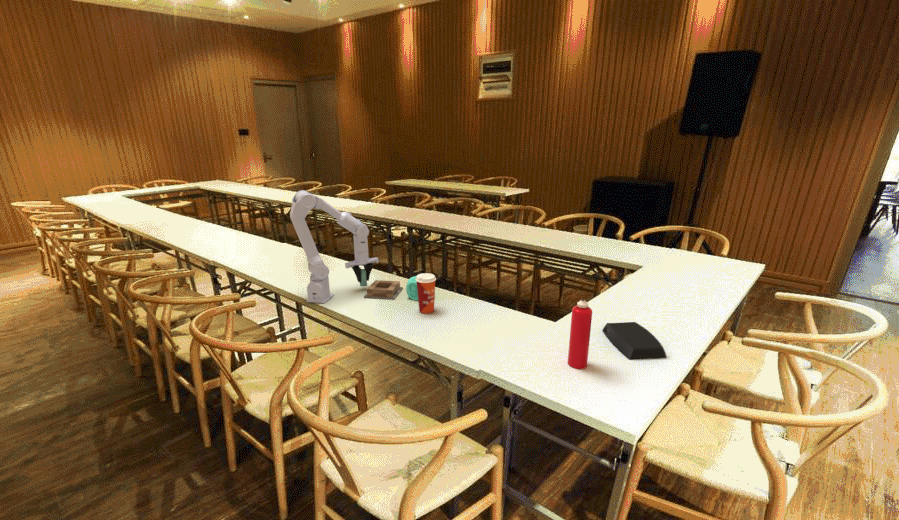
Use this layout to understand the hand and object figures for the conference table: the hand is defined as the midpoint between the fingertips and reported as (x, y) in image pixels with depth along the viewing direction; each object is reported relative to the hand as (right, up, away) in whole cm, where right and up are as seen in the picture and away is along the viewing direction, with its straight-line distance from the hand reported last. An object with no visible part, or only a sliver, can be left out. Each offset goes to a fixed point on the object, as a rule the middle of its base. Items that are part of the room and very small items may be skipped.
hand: (363, 281), depth 181 cm
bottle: (+75, -21, -59) cm, 97 cm away
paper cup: (+29, -10, -21) cm, 37 cm away
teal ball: (+25, -6, -8) cm, 27 cm away
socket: (+9, -5, -3) cm, 11 cm away
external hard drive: (+96, -18, -47) cm, 108 cm away
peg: (0, -2, +1) cm, 2 cm away
